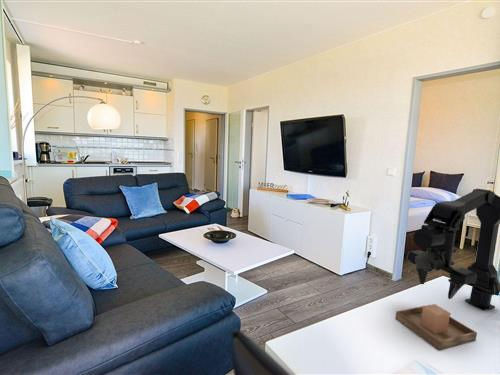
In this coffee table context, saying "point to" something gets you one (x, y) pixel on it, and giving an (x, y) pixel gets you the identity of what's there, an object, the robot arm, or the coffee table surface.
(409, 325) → the walnut tray
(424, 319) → the terracotta block
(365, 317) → the coffee table surface
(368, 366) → the coffee table surface
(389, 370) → the coffee table surface
